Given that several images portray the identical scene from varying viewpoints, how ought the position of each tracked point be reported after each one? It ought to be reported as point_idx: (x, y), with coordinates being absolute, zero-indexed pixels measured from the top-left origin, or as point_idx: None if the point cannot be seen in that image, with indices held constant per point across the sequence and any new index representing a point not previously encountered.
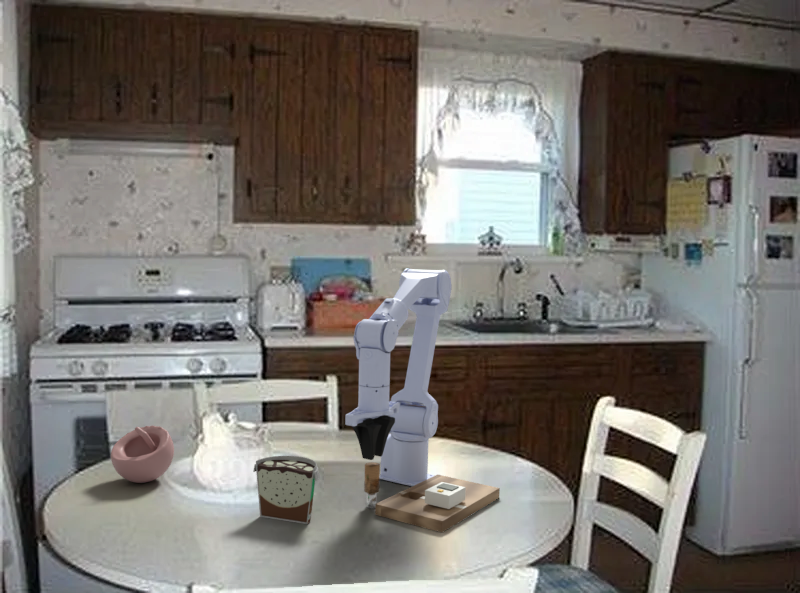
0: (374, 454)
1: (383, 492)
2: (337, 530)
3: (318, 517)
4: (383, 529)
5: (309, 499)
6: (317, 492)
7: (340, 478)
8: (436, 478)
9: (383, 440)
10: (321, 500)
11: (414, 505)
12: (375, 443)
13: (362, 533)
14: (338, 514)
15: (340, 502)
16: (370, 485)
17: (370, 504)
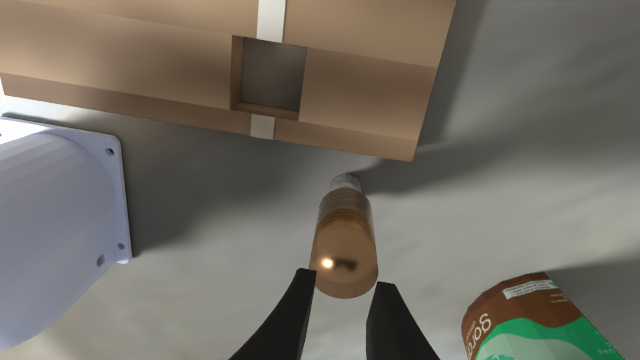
0: (382, 295)
1: (216, 205)
2: (570, 191)
3: (485, 270)
4: (523, 71)
5: (588, 322)
6: (314, 336)
7: (192, 332)
8: (44, 79)
9: (302, 329)
10: (362, 309)
11: (367, 26)
12: (403, 345)
13: (577, 117)
14: (444, 238)
15: None
16: (372, 220)
17: (360, 189)
